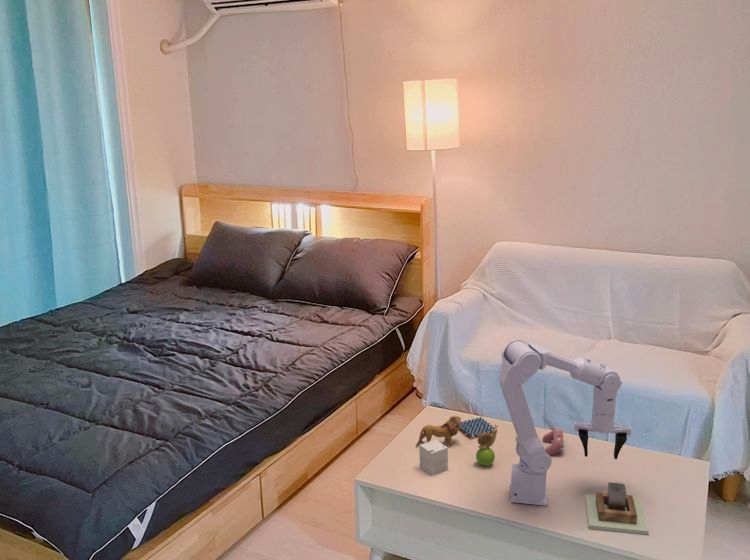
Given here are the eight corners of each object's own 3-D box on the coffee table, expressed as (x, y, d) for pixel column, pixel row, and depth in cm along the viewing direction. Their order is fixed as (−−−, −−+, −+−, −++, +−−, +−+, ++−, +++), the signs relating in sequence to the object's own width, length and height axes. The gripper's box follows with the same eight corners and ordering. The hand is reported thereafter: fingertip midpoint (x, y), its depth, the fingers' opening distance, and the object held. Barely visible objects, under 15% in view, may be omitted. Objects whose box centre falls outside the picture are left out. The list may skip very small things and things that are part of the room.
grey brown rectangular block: (607, 515, 179) (609, 490, 178) (606, 506, 183) (608, 482, 181) (624, 516, 179) (626, 492, 177) (622, 507, 182) (624, 483, 180)
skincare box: (435, 461, 209) (435, 438, 208) (448, 469, 205) (448, 446, 203) (419, 467, 206) (418, 444, 204) (431, 476, 201) (431, 453, 199)
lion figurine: (458, 437, 223) (458, 411, 221) (463, 445, 218) (464, 419, 216) (413, 443, 220) (413, 417, 218) (418, 451, 215) (417, 424, 213)
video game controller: (556, 461, 210) (568, 443, 208) (542, 454, 211) (554, 436, 208) (554, 445, 220) (565, 428, 218) (541, 438, 220) (552, 421, 218)
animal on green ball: (501, 466, 206) (502, 428, 203) (481, 470, 203) (482, 433, 200) (491, 457, 211) (492, 421, 207) (472, 462, 208) (473, 425, 205)
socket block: (588, 528, 176) (589, 516, 175) (585, 497, 189) (585, 486, 188) (648, 534, 173) (649, 522, 172) (640, 502, 186) (641, 491, 185)
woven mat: (452, 428, 230) (452, 422, 230) (480, 421, 235) (480, 415, 234) (469, 441, 221) (469, 436, 221) (498, 434, 225) (498, 429, 225)
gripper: (630, 405, 190) (627, 451, 194) (574, 401, 193) (572, 446, 197) (633, 417, 183) (630, 464, 187) (575, 413, 187) (573, 459, 190)
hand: (600, 456), depth 191 cm, fingers open, 7 cm apart
